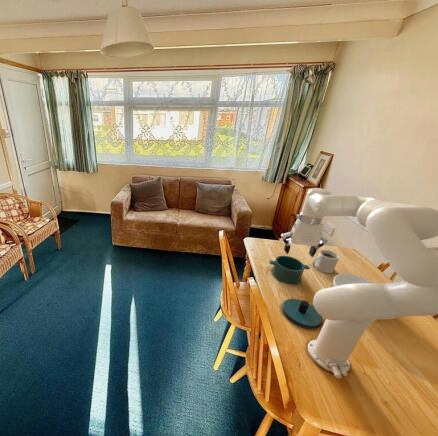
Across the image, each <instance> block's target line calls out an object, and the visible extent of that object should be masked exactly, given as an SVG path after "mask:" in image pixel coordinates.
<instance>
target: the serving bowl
mask: <svg viewBox="0 0 438 436" xmlns="http://www.w3.org/2000/svg"><path fill="white" fill-rule="evenodd" d="M332 281H333V282H332V285H333V286H332V287H335V286H340V285H345V284H355V283H375V282H374V281H372V280H370V279H367V278H366V277H362V276H359V275H355V274H351V273H340V274H337V275H335V276H334V277H333V280H332Z"/></svg>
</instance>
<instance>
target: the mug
mask: <svg viewBox="0 0 438 436" xmlns="http://www.w3.org/2000/svg"><path fill="white" fill-rule="evenodd" d="M339 259H340V255H339V254H338V253H337V252H335V251H332V250H329V249H321V250H320V251H319V252H318V256H316V257H315V258H314V259H313V261H312V266H313V267H314V268H315V269H316V270H317V271H319V272H321V273H325V274H332V273H333V272H334V271H335V269H336V267H337V264H338V262H339Z"/></svg>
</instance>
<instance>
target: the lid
mask: <svg viewBox="0 0 438 436" xmlns="http://www.w3.org/2000/svg"><path fill="white" fill-rule="evenodd" d="M282 307H283V309H284V311H285V313H286V314H287V315H288V316H289V317H290V318H291V319H293V320H294V321H296V322H298V323H300V324H303V325H306V326H317V325H319V324H320V323H321V321H323V317H322V316H321V315H320V314H319V313H318V312H317V311H316V309H315V308H314V305H312V304H310V303H309V302H308V301H307V300H305V299H304V300H301V299H297V298H288V299H285V300H284V302H283V303H282ZM321 324H322V323H321Z"/></svg>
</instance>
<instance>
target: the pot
mask: <svg viewBox="0 0 438 436" xmlns="http://www.w3.org/2000/svg"><path fill="white" fill-rule="evenodd" d="M269 264H270V265H273V267H272V270H271V274H272V276H273V277H274V278H275V279H277V280H278V281H280V282H282V283H285V284H288V285H289V284H290V285H296V284H298V283H300V281H301V280H302V277H303V273H304V272H305V271H304V270H310V269H311V267H310V266H309V265H308V264H304V263H303V262H302V261H301V260H300V259H297V258H295V257H293V256H290V255H278V256H276V257H275V259H274V260H271V259H270V260H269Z"/></svg>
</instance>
